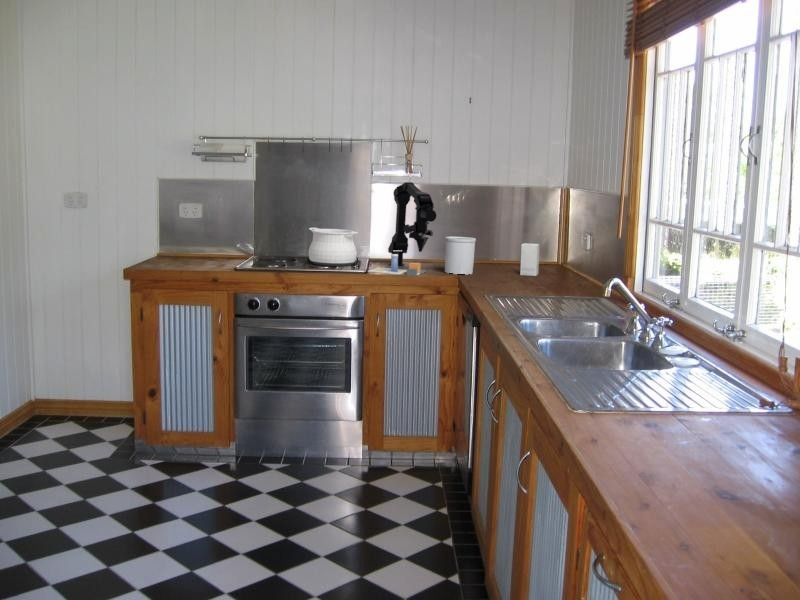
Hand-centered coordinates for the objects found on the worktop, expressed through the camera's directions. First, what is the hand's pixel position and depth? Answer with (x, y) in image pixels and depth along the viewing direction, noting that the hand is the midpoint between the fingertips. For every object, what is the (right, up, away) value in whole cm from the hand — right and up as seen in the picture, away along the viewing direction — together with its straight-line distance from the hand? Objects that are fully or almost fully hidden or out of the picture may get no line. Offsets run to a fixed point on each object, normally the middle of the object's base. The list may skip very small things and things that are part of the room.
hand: (420, 251), depth 430 cm
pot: (-44, -5, +21) cm, 49 cm away
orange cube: (-3, -10, -6) cm, 12 cm away
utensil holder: (+19, -10, +6) cm, 23 cm away
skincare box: (+54, -11, +10) cm, 56 cm away
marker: (-13, -10, -1) cm, 16 cm away
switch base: (-2, -11, -2) cm, 11 cm away
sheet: (-15, -10, +1) cm, 18 cm away
